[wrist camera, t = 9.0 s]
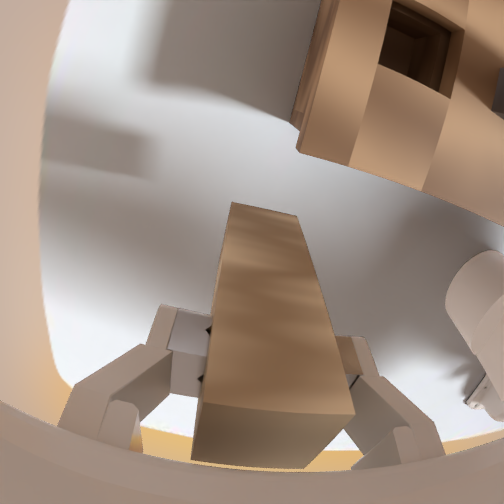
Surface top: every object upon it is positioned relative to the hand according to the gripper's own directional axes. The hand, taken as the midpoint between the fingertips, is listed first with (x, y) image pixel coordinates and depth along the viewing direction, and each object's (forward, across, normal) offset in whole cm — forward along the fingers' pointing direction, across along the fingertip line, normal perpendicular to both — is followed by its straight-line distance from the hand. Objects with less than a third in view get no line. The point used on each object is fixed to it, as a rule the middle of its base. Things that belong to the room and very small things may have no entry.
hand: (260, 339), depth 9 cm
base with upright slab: (+15, -25, +4) cm, 30 cm away
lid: (+7, -13, -11) cm, 18 cm away
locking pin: (+7, 0, 0) cm, 7 cm away
